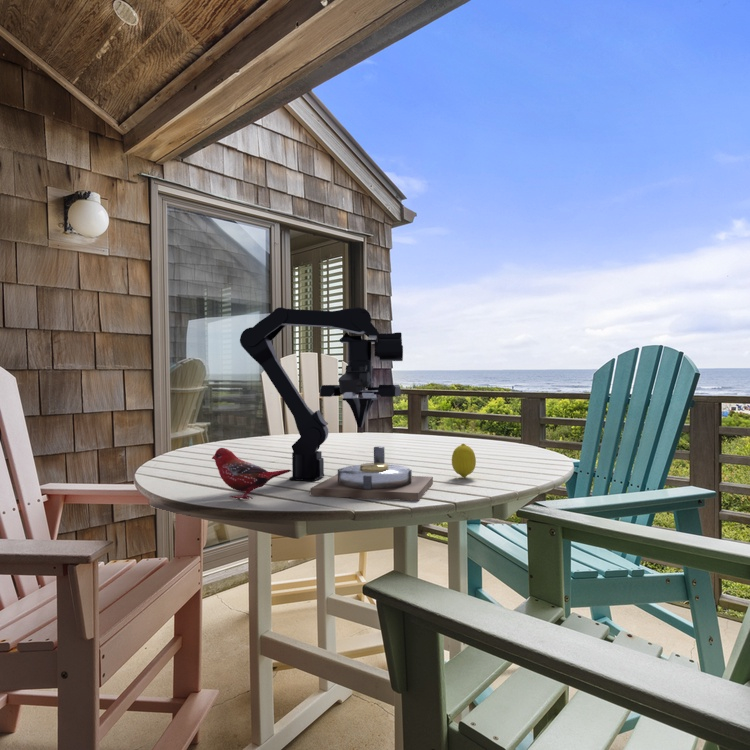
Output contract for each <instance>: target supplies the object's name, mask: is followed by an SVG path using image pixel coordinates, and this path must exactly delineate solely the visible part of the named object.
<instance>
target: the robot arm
mask: <svg viewBox="0 0 750 750" xmlns="http://www.w3.org/2000/svg"><path fill="white" fill-rule="evenodd" d="M370 314H371V313H370V312H369V311H368V310H367V309H366V308H364V307H351V308H350V307H349V308H343V309H338V310H318V309H316V310H315V309H298V308H297V309H295V308H285V307H276V308H275V309H274V310H273V311H272V312H271V313H270V314H268V315H267V316H266V317H264V318H263V319H261V320H260V321H258V322H257V323H256V324H255V325H253V326H252V327H247V328H245V329H244V330H243V331H242V332H241V334H240V339H239V343H240V346H241V347H242V348H243V349H244V350H245V351H246V353H247V354H248V355H249V356H250V357H251V358H252V359H254V361H255V362H257V364H259V365H260V366H261V368H262V369H263V371H264V373H265V374H266V375H267V377H268V378H269V380H270V381H271V383H272V385H273V386H274V388H275V389H276V391H277V392H278V395H279V396H280V397H281V399H282V400H283V402H284V403H285V406H286V407H287V408H288V410H289V411H290V413H291V415H292V416H293V418H294V419H293V420H294V422H295V426H296V429H297V431H298V434H299V436H300V437H299V438H298V439H297V440H296V441H295V442H294V443H293V444H292V445H291V448H292V451H293V452H292V455H291V456H292V457H291V458H292V459H291V461H292V463H291V465H292V469H291V473H292V474H291V475H292V476H290V477H288V479H289V480H291V481H311V482H312V481H317V480H319V479H321V478H323V477H325V473H324V471H325V469H324V461H325V460H324V458H323V455H322V454H323V453H322V451H320V450H319V449H320V446H321V445H323V444H324V443H325V441H326V440H327V439H328V437H329V428H328V426H327V425H329V423H328V421H326V420H325V418H324V416H323V415H322V413H321V411H320V409H318V410H315V411H313V410H312V409H311V408H310V407H309V406H308V405H307V403H306V401H305V400H304V399H303V397H302V396H301V393H300V392H299V390H298V389H297V388H296V386H295V384H294V383H293V382H292V380H291V378H290V377H289V375H288V373H287V372H286V370H285V369H284V367H283V366H282V363H280V361H279V359H278V357H277V354H276V350H275V347H274V346H273V343H272V341H273V340H274V339H275V338H276V337H277V336H278V335H279V334H280V333H281V332H282V331H283V329H284V328H285V327H287V326H294V327H295V326H298V327H310V328H311V327H313V328H314V327H315V328H316V327H317V328H329V329H331V328H332V329H337V330H340V331H344V334H343V336H341V338H340V339H339V343H341V344H347V365H346V366H345V372H344V373H343V374H342V375H341V376H340V377H338V384H329V385H328V384H322V385H321V386H320V388H319V391H318V392H319V397H324V398H325V397H327V398H328V397H329V398H331V397H341V396H343V397H342V398H341V399H342V401H345V402H346V403H347V404H348V406H349V407H350V410H351V412H352V414H353V417H354V419H355V423H356V426H357V428H363V426H364V424H365V422H366V418H367V417H368V413H369V411H370V409H371V407H372V405H373V403H374V401H377V400H378V398H379V397H377V395H378V396H380V397H381V398H382V397H383V398H385V397H386V398H387V397H389V398H391V397H392V398H393V397H394V398H396V397H401V396H402V395H401V394H402V390H401V386H400V385H399V384H378V386H377V387H376V386H374V383H373V371H374V365H373V364H372V363H373V361H372V360H373V359H372V357H373V354H372V353H373V352H372V349H373V347H374V358H379V359H378V361H379V362H403V359H404V346H403V339H402V332H401V331H400V332H399V331H398V332H393V333H391V332H389V333H388V332H387V333H385V332H382V333H381V332H379V331H378V328H376V327H375V325H374V324H373V322H372V316H371V315H370ZM349 333H352V334H357V335H350V334H349ZM362 335H365V336H366V337H368V338H369V339H363V336H362ZM372 343H373V345H374V346H373V347H372ZM363 388H364V389H363ZM358 395H361V396H362V397H359V396H358Z"/></svg>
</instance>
